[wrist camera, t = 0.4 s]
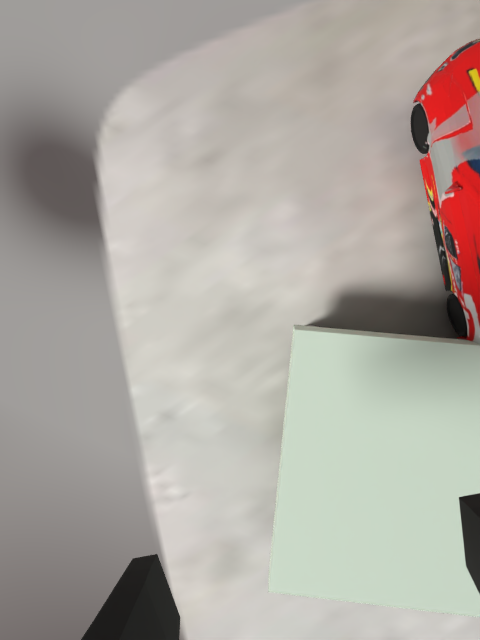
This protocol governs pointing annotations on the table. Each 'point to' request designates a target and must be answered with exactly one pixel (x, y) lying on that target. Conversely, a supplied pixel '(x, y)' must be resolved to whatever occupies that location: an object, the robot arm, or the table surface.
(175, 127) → the table surface
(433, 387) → the stand
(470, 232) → the race car
